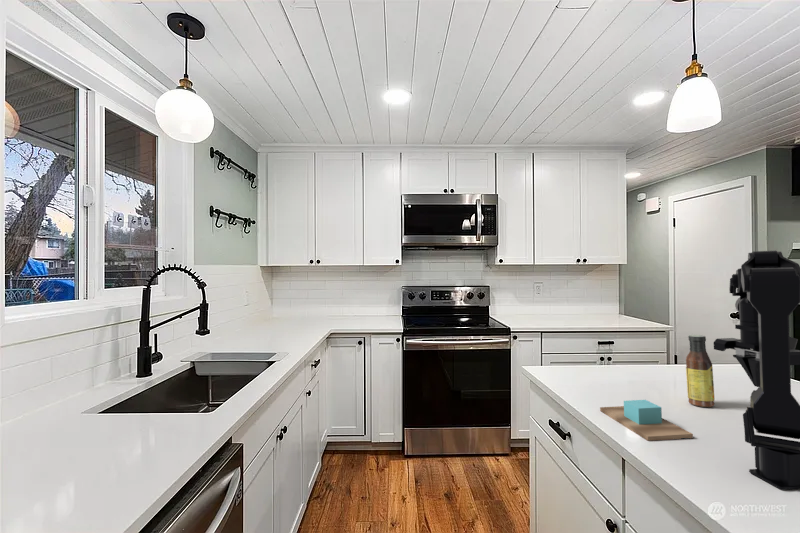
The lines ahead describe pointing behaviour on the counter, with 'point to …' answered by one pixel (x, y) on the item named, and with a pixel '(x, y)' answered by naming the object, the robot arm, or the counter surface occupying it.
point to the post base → (647, 426)
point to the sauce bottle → (699, 373)
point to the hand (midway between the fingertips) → (758, 386)
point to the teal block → (642, 412)
